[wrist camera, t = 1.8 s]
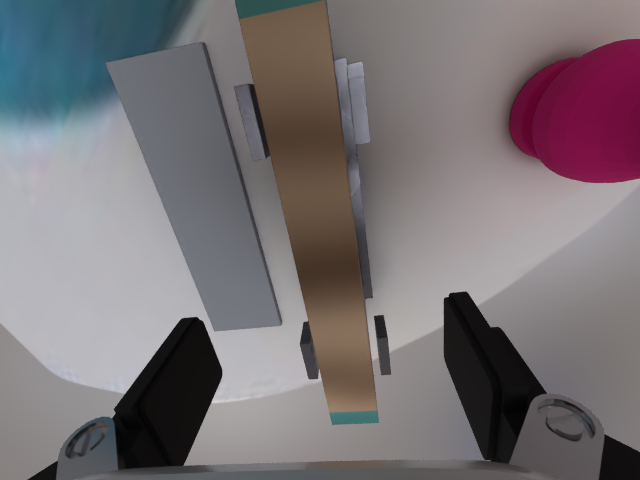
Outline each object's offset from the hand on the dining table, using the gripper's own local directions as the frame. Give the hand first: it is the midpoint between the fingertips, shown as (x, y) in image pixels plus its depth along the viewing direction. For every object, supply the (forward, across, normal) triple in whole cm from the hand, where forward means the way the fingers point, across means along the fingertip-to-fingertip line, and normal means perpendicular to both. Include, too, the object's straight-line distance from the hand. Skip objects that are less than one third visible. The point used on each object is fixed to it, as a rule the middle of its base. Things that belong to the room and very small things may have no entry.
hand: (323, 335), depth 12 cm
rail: (+7, 0, -1) cm, 7 cm away
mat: (+15, +10, -1) cm, 18 cm away
